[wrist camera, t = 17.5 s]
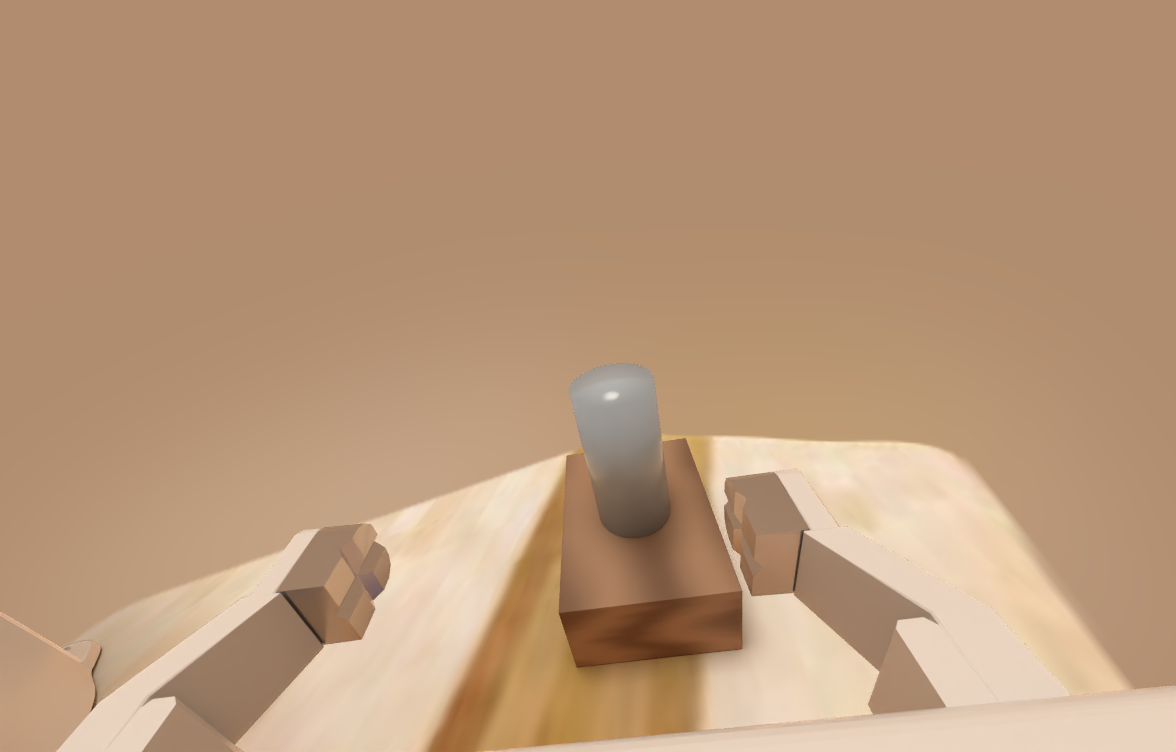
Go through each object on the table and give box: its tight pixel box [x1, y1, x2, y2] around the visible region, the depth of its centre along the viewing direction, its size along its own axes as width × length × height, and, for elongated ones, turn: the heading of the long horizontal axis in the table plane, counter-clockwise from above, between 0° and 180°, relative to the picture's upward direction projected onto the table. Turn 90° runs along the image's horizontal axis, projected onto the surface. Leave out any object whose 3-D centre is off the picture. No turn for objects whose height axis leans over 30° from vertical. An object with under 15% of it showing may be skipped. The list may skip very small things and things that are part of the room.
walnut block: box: [559, 438, 742, 667], centre depth 33 cm, size 11×15×6 cm
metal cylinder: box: [569, 363, 671, 538], centre depth 29 cm, size 5×5×11 cm
